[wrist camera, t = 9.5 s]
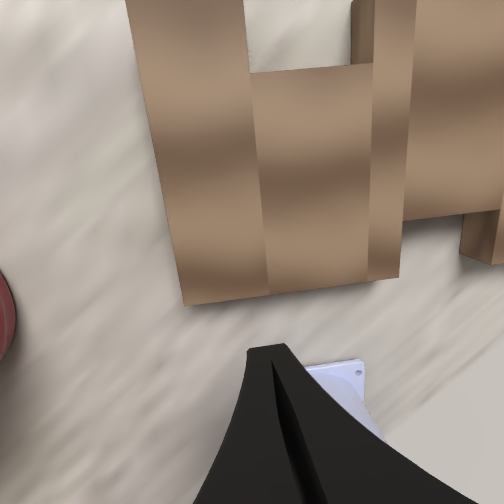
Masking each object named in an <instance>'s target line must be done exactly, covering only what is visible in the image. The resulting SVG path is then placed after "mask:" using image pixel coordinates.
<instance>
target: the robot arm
mask: <svg viewBox="0 0 504 504" xmlns="http://www.w3.org/2000/svg"><path fill="white" fill-rule="evenodd" d="M358 370H359V371H358ZM356 371H358V372H356ZM364 376H365V365H364V363H363V362H362V360H360V359H354V360H347V361H341V362H334V363H328V364H321V365H314V366H308V367H303V366H302V364H301V363H300V362H299V361H298V359H297V358H296V357H295V356H294V354H293V353H292V352H291V350H290V349H289V348H288V346H287V345H286V344H284V343H282V344H275V345H269V346H262V347H255V348H249V350H248V351H247V361H246V368H245V373H244V378H243V382H242V386H241V390H240V394H239V398H238V401H237V404H236V407H235V410H234V413H233V416H232V419H231V422H230V424H229V427H228V430H227V432H226V435H225V437H224V440H223V442H222V444H221V447H220V449H219V451H218V454H217V456H216V458H215V460H214V462H213V464H212V467H211V469H210V471H209V473H208V475H207V477H206V479H205V481H204V483H203V485H202V487H201V489H200V491H199V493H198V495H197V497H196V499H195V500H194V502H193V504H478V503H476V502H474V501H473V500H471V499H469V498H467V497H465V496H464V495H462V494H461V493H459V492H457V491H456V490H454V489H453V488H451V487H449V486H448V485H446V484H445V483H443V482H441V481H440V480H438V479H437V478H435V477H434V476H432V475H430V474H429V473H427V472H426V471H424V470H423V469H422V468H420V467H419V466H417V465H416V464H415V463H413V462H412V461H410V460H409V459H407V458H406V457H404V456H403V455H402V454H400V453H399V452H397V451H396V450H394V449H393V448H392V447H390V446H389V445H388V444H387V442H386V440H385V439H384V437H383V435H382V434H381V432H380V430H379V428H378V427H377V425H376V423H375V422H374V420H373V418H372V416H371V415H370V413H369V411H368V410H367V408H366V406H365V405H364Z"/></svg>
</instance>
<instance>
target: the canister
mask: <svg viewBox="0 0 504 504" xmlns="http://www.w3.org/2000/svg"><path fill="white" fill-rule="evenodd" d="M15 323H16V320H15V308H14V303H13V299H12V296H11V293H10V291H9V288H8V286H7V284H6V282H5V280H4V278H3V277H2V275H1V273H0V360H1V359H2V358H3V356H4V355H5V354H6V352H7V350H8V349H9V347H10V344H11V342H12V339H13V336H14V331H15Z"/></svg>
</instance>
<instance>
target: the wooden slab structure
mask: <svg viewBox="0 0 504 504" xmlns="http://www.w3.org/2000/svg"><path fill="white" fill-rule="evenodd" d="M125 2H126V8H127V13H128V18H129V23H130V28H131V33H132V38H133V44H134V49H135V54H136V59H137V64H138V69H139V74H140V80H141V85H142V90H143V95H144V100H145V105H146V111H147V116H148V121H149V126H150V131H151V136H152V141H153V147H154V152H155V157H156V162H157V167H158V172H159V177H160V183H161V188H162V193H163V198H164V203H165V208H166V214H167V219H168V224H169V229H170V234H171V239H172V244H173V250H174V255H175V260H176V265H177V270H178V275H179V281H180V286H181V291H182V296H183V301H184V306H191V305H199V304H206V303H214V302H221V301H228V300H236V299H243V298H251V297H258V296H265V295H273V294H280V293H288V292H295V291H302V290H310V289H317V288H325V287H332V286H339V285H347V284H354V283H362V282H369V281H376V280H384V279H391V278H399V268H400V252H401V237H402V222H403V221H408V220H416V219H425V218H433V217H441V216H449V215H457V214H464V221H463V228H462V236H461V243H460V251H459V253H461V254H463V255H466V256H469V257H471V258H474V259H477V260H479V261H482V262H484V263H487V264H490V265H495V264H502V263H504V0H353V1H352V3H351V65H343V66H331V67H319V68H308V69H296V70H284V71H273V72H261V73H250V72H249V61H248V50H247V38H246V27H245V16H244V5H243V0H125Z"/></svg>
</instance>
